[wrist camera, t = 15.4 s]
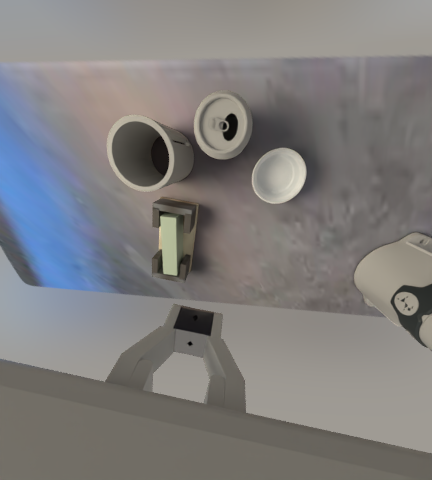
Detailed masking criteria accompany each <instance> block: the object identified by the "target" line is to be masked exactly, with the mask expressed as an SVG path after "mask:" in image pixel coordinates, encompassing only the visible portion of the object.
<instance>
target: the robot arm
mask: <svg viewBox="0 0 432 480" xmlns="http://www.w3.org/2000/svg"><path fill="white" fill-rule="evenodd" d="M354 281H355V285H356V287H357V288H358V290H359V291H360V292H361V293H362V294H363V297H364V301H365V303H366V304H367V305H368V306H371V307H376V308H377V309H378V310H379V311H380V312H382V313H383V314H384V315H385V316H386V317H387V318H388V319H389V320H390V321H392V322H393V323H394V324H395V325H397V326H401V327H404V328H405V329H406V331H407V332H408V333H409V334H410V335H411V336H412V337H413V338H414V339H416V340H417V341H418V342H419V343H420V344H422V345H423V346H425V347H427V348H429V349H430V350H431V351H432V238H431V237H428V236H426V235H424V234H421V233H418V232H415V233H412V234H410V235H408V236H406V237H404V238H403V239H401V240H400V241H397V242H394V243H391V244H388V245H385V246H382V247H380V248H378V249H376V250H374V251H372V252H371V253H370V254H368V255H367V256H366V257H365V258H364V259H363V260H362V261H361V262H360V263H359V265H358V267H357V269H356V271H355V275H354ZM222 318H223V315H222V314H221V313H216V312H211V311H205V310H200V309H195V308H190V307H186V306H181V305H177V304H173V305H172V307H171V310H170V312H169V314H168V316H167V319H166V321H165V323H164V326H160V327H159V328H157V329H156V330H154V331H153V332H151V333H150V334H149V335H147V336H146V337H144V338H143V339H142V340H140V341H139V342H137V343H136V344H135V345H133V346H132V347H130V348H129V349H128V350H126V351H125V352H123V353H122V354H121V356H120V358H119V359H118V361H117V362H116V364H115V366H114V367H113V369H112V371H111V373H110V374H109V376H108V377H107V379H106V381H105V382H103V381H99V380H94V379H90V378H85V377H81V376H76V375H71V374H67V373H62V372H58V371H53V370H49V369H44V368H39V367H35V366H31V365H26V364H22V363H16V362H12V361H7V360H3V359H0V480H432V454H431V453H427V452H422V451H417V450H413V449H409V448H404V447H399V446H395V445H390V444H386V443H381V442H376V441H372V440H368V439H363V438H358V437H354V436H349V435H345V434H340V433H336V432H331V431H327V430H322V429H317V428H313V427H308V426H304V425H299V424H295V423H289V422H286V421H281V420H276V419H272V418H267V417H263V416H258V415H254V414H249V413H246V403H245V402H246V401H245V380H244V378H243V376H242V374H241V372H240V370H239V368H238V366H237V365H236V363H235V361H234V359H233V357H232V355H231V353H230V351H229V349H228V347H227V346H226V344H225V342H224V340H223V339H221V329H222ZM173 352H178V353H184V354H189V355H193V356H197V357H201V358H203V360H204V363H205V366H206V370H207V372H208V376H209V379H210V381H209V385H208V388H207V392H206V396H205V400H204V403H199V402H194V401H190V400H186V399H181V398H176V397H172V396H167V395H163V394H158V393H154V392H152V384H153V383H152V382H153V373H154V372H155V371H156V370H157V369H158V368H159V367H160V366H161V365H162V364H163V363H164V362H165V361H166V360H167V359H168V358H169V357H170V355H171V354H172V353H173Z"/></svg>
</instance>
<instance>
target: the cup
mask: <svg viewBox="0 0 432 480" xmlns="http://www.w3.org/2000/svg"><path fill="white" fill-rule="evenodd" d="M159 136H162V138H163V139H164V141H165V143H166V145H167V148H168V153H169V168H168V170H167V173H166V175H165V176H163V175H162V174H160V173H159V172H158V171H157V170H156V168H155V166H154V164H153V162H152V158H151V149H152V145H153V143H154V141H155V140H156V139H157V138H158V137H159ZM173 140H174V141H178V142H181V143H184V144H185V145H183V144H179V143H175V142H174V141H173ZM107 154H108V158H109V161H110V165H111V166H112V168H113V170H114V172H115V174H116V175H117V176H118V177H119V178H120V179H121V180H122V181H123V182H124V183H125V184H126V185H128V186H129V187H131V188H133V189H135V190H139V191H143V192H144V191H145V192H149V191H154V190H158V189H160V188H163V187H165V186H168V185H170V184H173V183H175V182H178V181H180V180H182V179H184V178H186V177H187V176H188V175H189V173H190V172H191V170H192V168H193V164H194V152H193V148H192V146H191V144H190V142H189V141H188V139H187V138H186V137H185V136H184V135H183V134H181V133H180V132H178V131H176V130H174V129H172V128H170V127H167V126H165V125H163V124H161V123H159V122H156V121H154V120H152V119H150V118H148V117H145V116H141V115H128V116H125V117H123V118H121V119H120V120H118V121H117V122H116V123H115V124H114V125H113V127H112V129H111V130H110V132H109V135H108V139H107Z"/></svg>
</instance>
